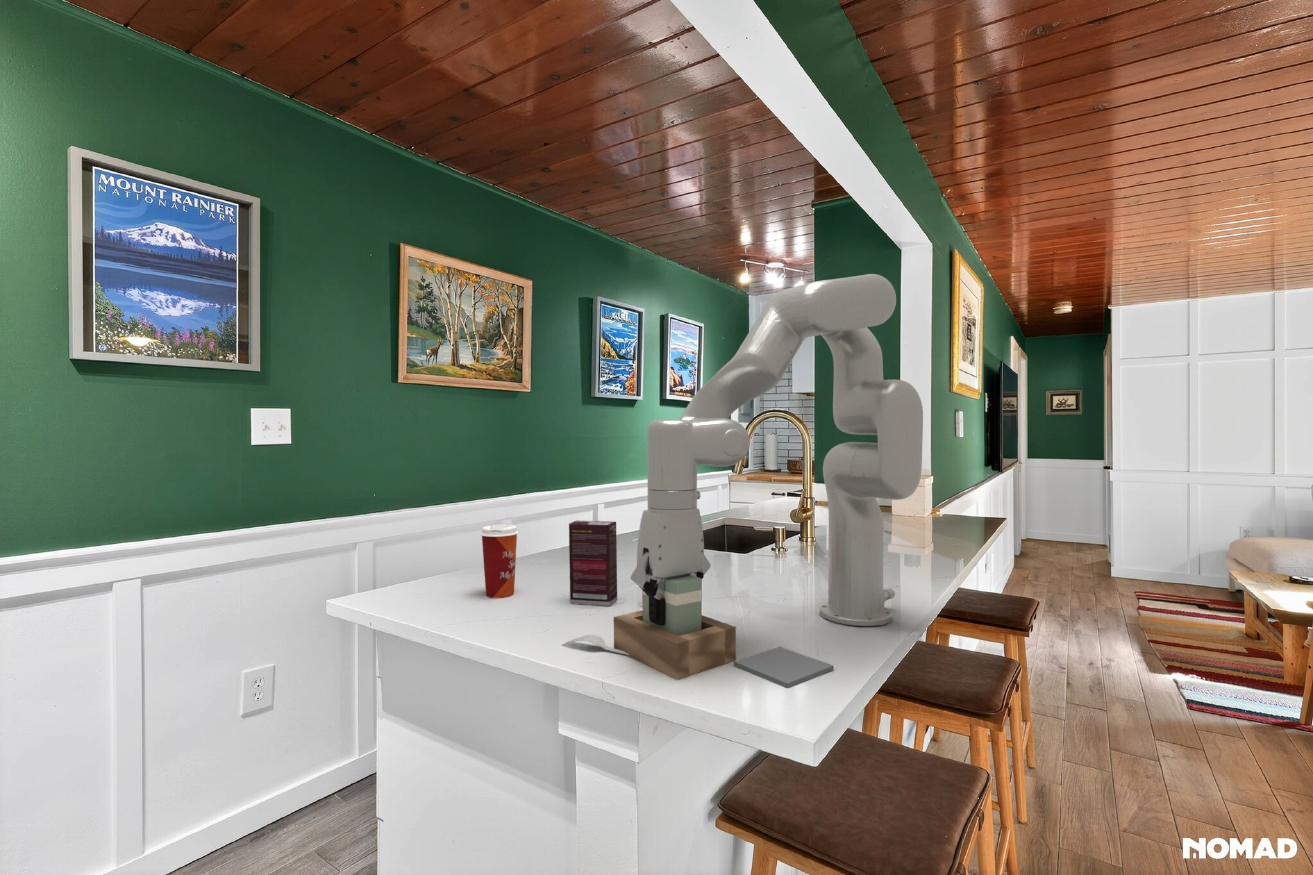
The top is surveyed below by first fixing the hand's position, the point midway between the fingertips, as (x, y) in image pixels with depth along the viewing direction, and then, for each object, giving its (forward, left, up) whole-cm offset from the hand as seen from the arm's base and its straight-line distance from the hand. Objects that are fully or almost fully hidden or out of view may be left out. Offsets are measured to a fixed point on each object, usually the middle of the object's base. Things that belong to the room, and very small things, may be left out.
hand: (672, 618), depth 98 cm
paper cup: (+6, -49, -6) cm, 50 cm away
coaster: (-9, +14, -6) cm, 18 cm away
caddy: (0, 0, -6) cm, 6 cm away
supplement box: (-6, -32, -6) cm, 33 cm away
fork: (+6, -6, -6) cm, 11 cm away
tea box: (0, 0, -5) cm, 5 cm away
